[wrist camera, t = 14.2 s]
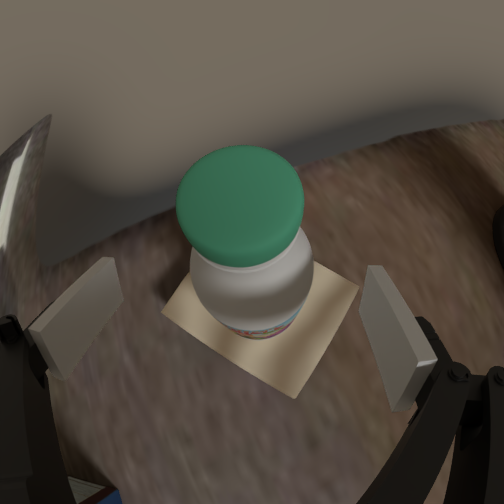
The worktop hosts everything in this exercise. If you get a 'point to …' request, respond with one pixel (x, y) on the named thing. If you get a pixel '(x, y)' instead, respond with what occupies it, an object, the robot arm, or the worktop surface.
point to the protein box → (93, 492)
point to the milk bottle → (246, 239)
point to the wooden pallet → (280, 347)
